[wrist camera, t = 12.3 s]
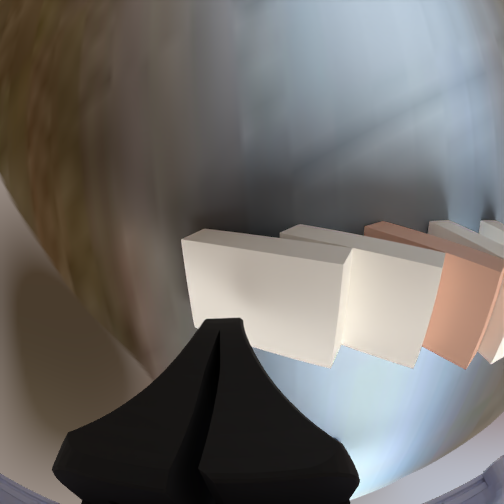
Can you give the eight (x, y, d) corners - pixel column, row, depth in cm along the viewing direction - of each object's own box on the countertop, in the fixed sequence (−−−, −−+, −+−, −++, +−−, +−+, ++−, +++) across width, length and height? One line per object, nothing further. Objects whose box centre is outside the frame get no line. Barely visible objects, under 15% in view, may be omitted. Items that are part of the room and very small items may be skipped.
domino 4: (448, 219, 15) (540, 266, 8) (435, 291, 17) (508, 353, 10) (429, 220, 15) (525, 271, 8) (416, 295, 17) (490, 364, 10)
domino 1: (204, 228, 15) (352, 248, 11) (213, 311, 17) (341, 344, 13) (181, 239, 14) (342, 264, 10) (194, 327, 15) (330, 368, 12)
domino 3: (383, 220, 15) (507, 260, 9) (373, 299, 17) (477, 351, 11) (364, 226, 14) (500, 272, 8) (355, 310, 16) (465, 369, 10)
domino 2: (299, 223, 15) (445, 252, 10) (298, 307, 17) (421, 346, 12) (279, 232, 14) (442, 267, 9) (280, 321, 16) (413, 368, 11)
